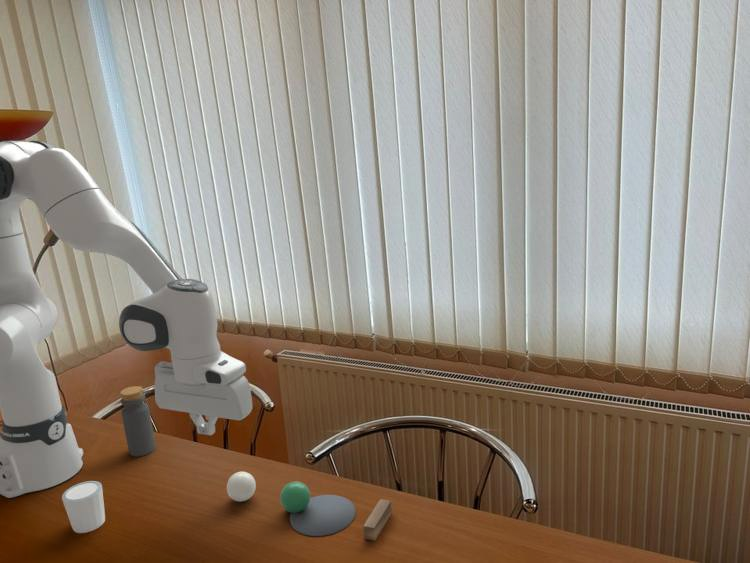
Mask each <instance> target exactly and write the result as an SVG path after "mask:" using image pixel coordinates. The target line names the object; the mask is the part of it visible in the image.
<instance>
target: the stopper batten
mask: <svg viewBox="0 0 750 563" xmlns="http://www.w3.org/2000/svg"><path fill="white" fill-rule="evenodd" d="M392 511H393V510H392V501H391V500H388V499H383V498H380V499H379V500H378V502H377V504H376V505H375V507H374V508H373V510H372V512H371V513H370V515H369V516H368V518H367V519H366V521H365V523H364V524H363V526H362V527H363V538H364V539H365V540H369V541H375V542H376V541H377V539H378V537H379V535H380V534H381V532H382V530H383V529H384V527H385V525H386V523H387V522H388V520H389V518H390V517H391V515H392V513H393V512H392Z"/></svg>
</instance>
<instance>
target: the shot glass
mask: <svg viewBox="0 0 750 563" xmlns="http://www.w3.org/2000/svg"><path fill="white" fill-rule="evenodd" d="M103 491H104V490H103V484H102V483H101V482H100V481H95V480H88V481H83V482H80V483H76V484H74V485H72V486H70V487H69V488H67V489H66V490H65V491H64V492H63V493H62V495H61V500H62V503H63V506H64V508H65V511H66V514H67V517H68V520H69V522H70V525H71V526H70V527H71V528H72V531H74V532H75V533H77V534H86V533H88V532H89V533H90V532H93V531H94V530H97V529H99V528H100V527H101V526H103V524H104V523H105V521H106V514H105V513H106V512H105V503H104V492H103Z"/></svg>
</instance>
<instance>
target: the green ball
mask: <svg viewBox="0 0 750 563" xmlns="http://www.w3.org/2000/svg"><path fill="white" fill-rule="evenodd" d="M310 492H311V491H310V489H309V488H308V486H307V485H306V484H305V483H303V482H302V481H301V482H300V481H291V482H289V483H287V484H286V485H285V486H283V488H282V490H281V492H280V495H279V496H280V498H279V499H280V505H281V506H282V508H283V509H284V510H285V511H286V512H288V513H290V514H291V513H298V512H301V511H303V510H304V509H305V508H306V507H307V506H308V504H309V502H310V498H311V493H310Z"/></svg>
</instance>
